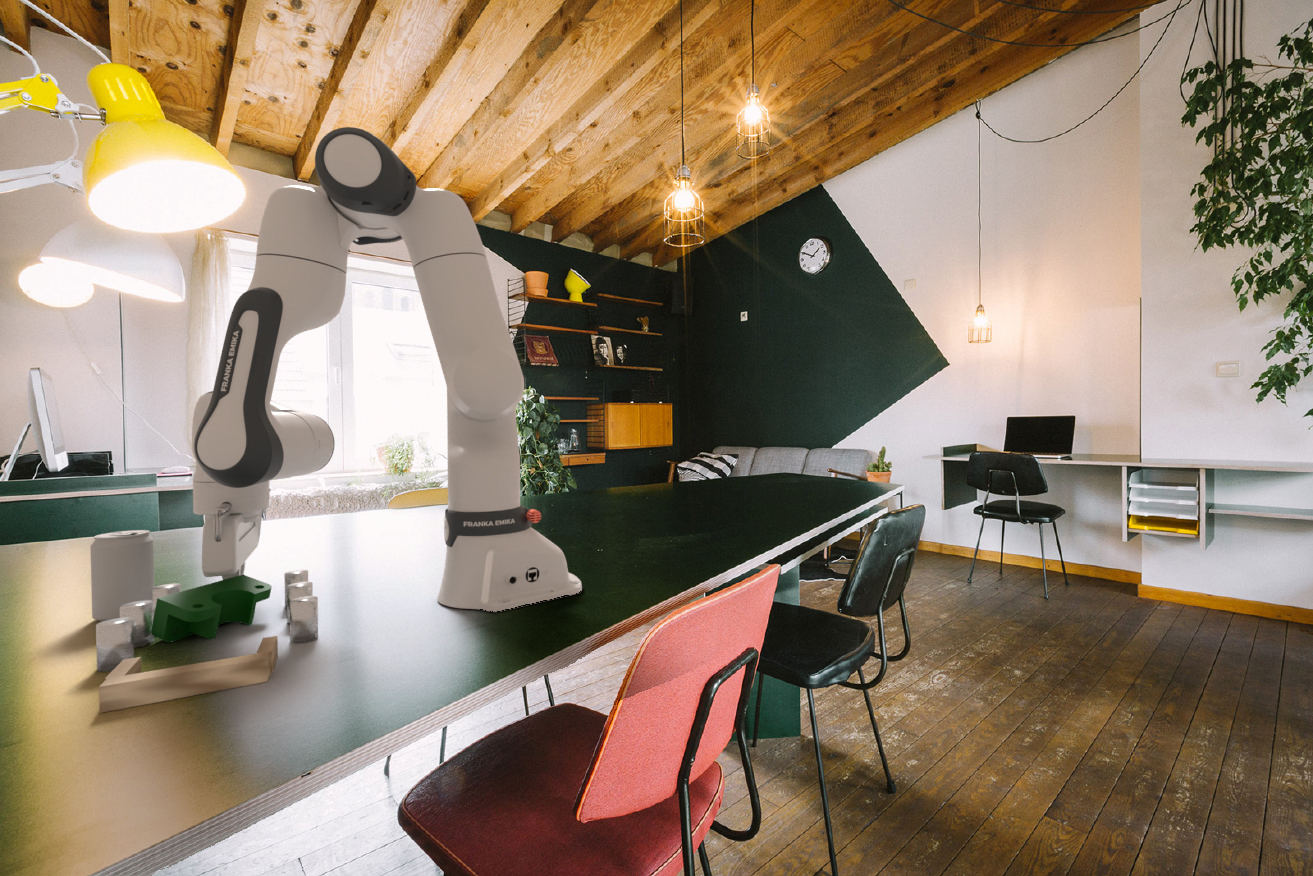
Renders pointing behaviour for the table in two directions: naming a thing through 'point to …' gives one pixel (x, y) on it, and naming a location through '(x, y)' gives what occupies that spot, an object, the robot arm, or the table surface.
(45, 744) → the table surface
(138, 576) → the beverage can
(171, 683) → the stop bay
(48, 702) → the table surface
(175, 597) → the clamp
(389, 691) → the table surface
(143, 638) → the spacers
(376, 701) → the table surface
